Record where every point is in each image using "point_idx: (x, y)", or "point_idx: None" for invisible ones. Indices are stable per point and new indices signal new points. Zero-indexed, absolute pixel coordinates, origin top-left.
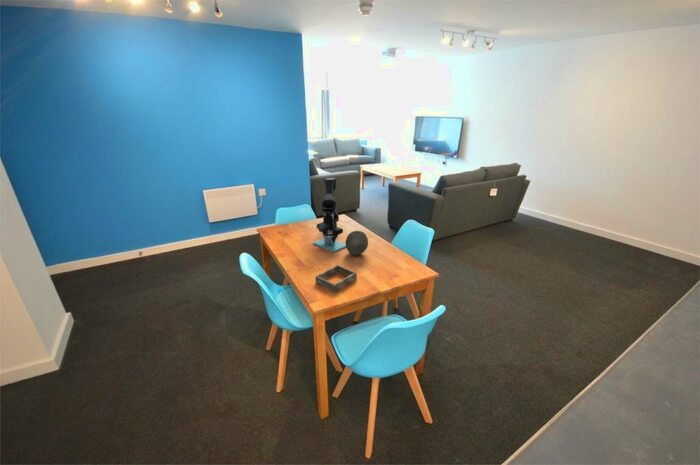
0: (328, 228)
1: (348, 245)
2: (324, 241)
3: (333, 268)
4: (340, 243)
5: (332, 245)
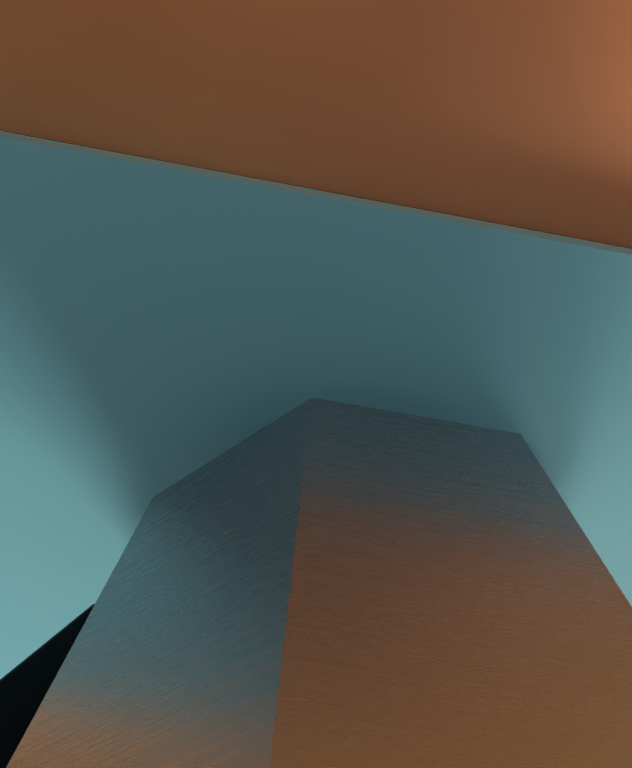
0: None
1: None
2: (545, 480)
3: None
4: None
5: None
